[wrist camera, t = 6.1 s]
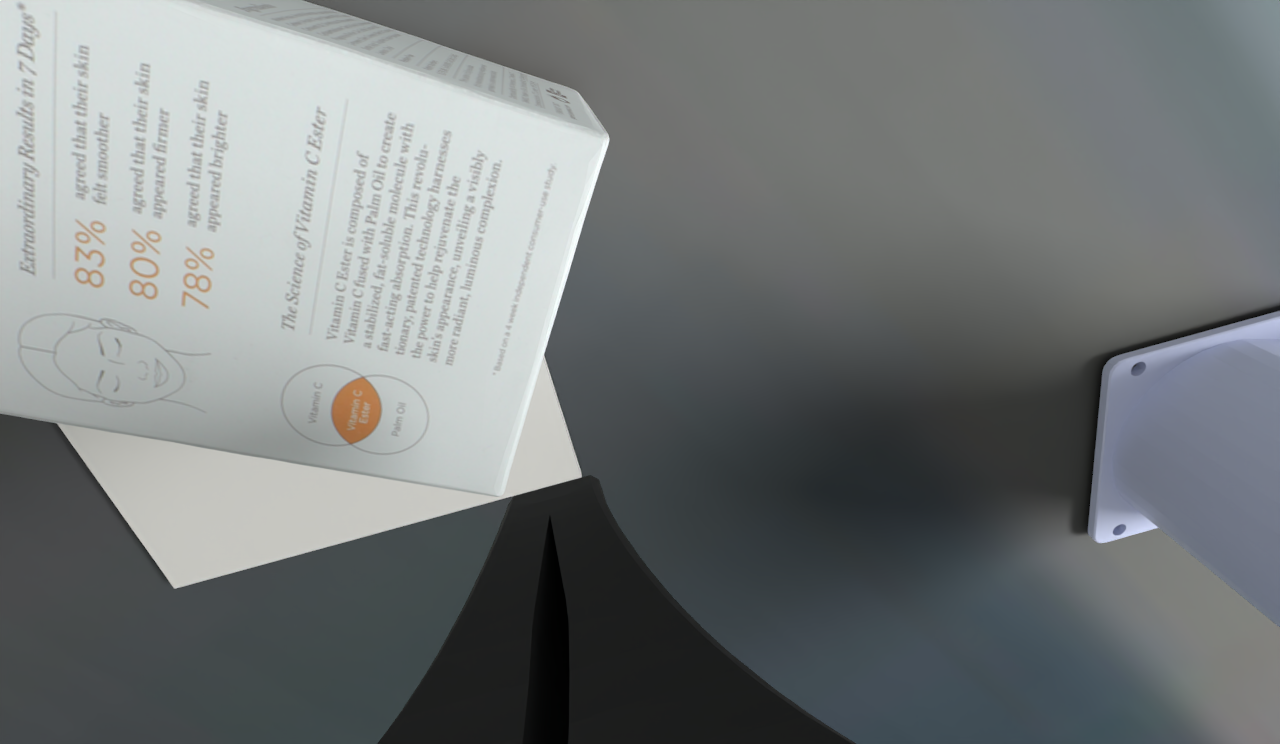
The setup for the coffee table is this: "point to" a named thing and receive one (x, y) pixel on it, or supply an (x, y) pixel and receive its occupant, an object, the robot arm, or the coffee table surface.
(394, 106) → the small box
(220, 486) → the felt pad
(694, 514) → the coffee table surface
